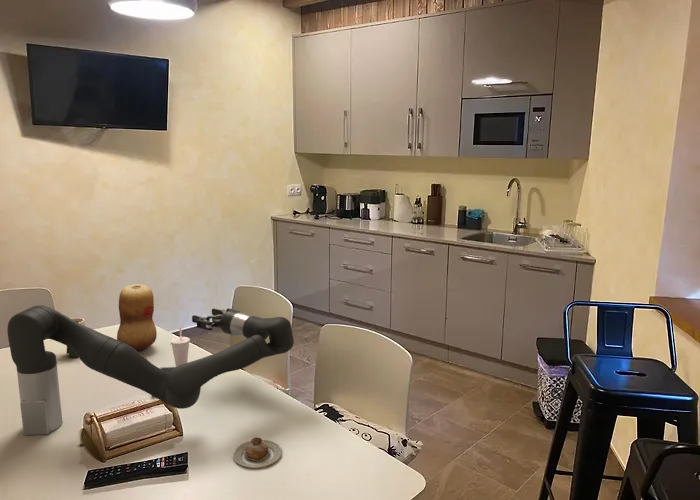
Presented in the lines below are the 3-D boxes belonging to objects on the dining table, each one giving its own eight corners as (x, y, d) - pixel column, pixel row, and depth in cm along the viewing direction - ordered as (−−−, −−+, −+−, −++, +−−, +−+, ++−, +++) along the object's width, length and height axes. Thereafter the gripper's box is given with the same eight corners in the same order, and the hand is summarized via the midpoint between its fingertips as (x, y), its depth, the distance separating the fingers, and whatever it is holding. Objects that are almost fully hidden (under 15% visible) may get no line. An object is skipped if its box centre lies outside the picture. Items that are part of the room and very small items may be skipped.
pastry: (259, 438, 143) (259, 422, 142) (291, 455, 135) (291, 439, 134) (223, 458, 134) (222, 441, 133) (255, 477, 126) (255, 460, 125)
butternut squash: (140, 360, 189) (136, 292, 184) (110, 355, 193) (104, 288, 188) (165, 347, 202) (162, 283, 197) (136, 342, 206) (132, 279, 201)
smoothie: (194, 363, 188) (192, 325, 186) (186, 370, 182) (185, 331, 179) (176, 362, 189) (174, 324, 186) (168, 369, 183) (166, 330, 180)
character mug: (58, 354, 193) (55, 320, 191) (77, 348, 199) (74, 315, 196) (75, 362, 187) (72, 326, 185) (94, 355, 193) (91, 321, 191)
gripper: (223, 342, 162) (186, 332, 171) (255, 329, 174) (219, 319, 182) (222, 319, 161) (185, 309, 169) (254, 307, 172) (218, 298, 181)
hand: (202, 314), depth 176 cm, fingers open, 8 cm apart
